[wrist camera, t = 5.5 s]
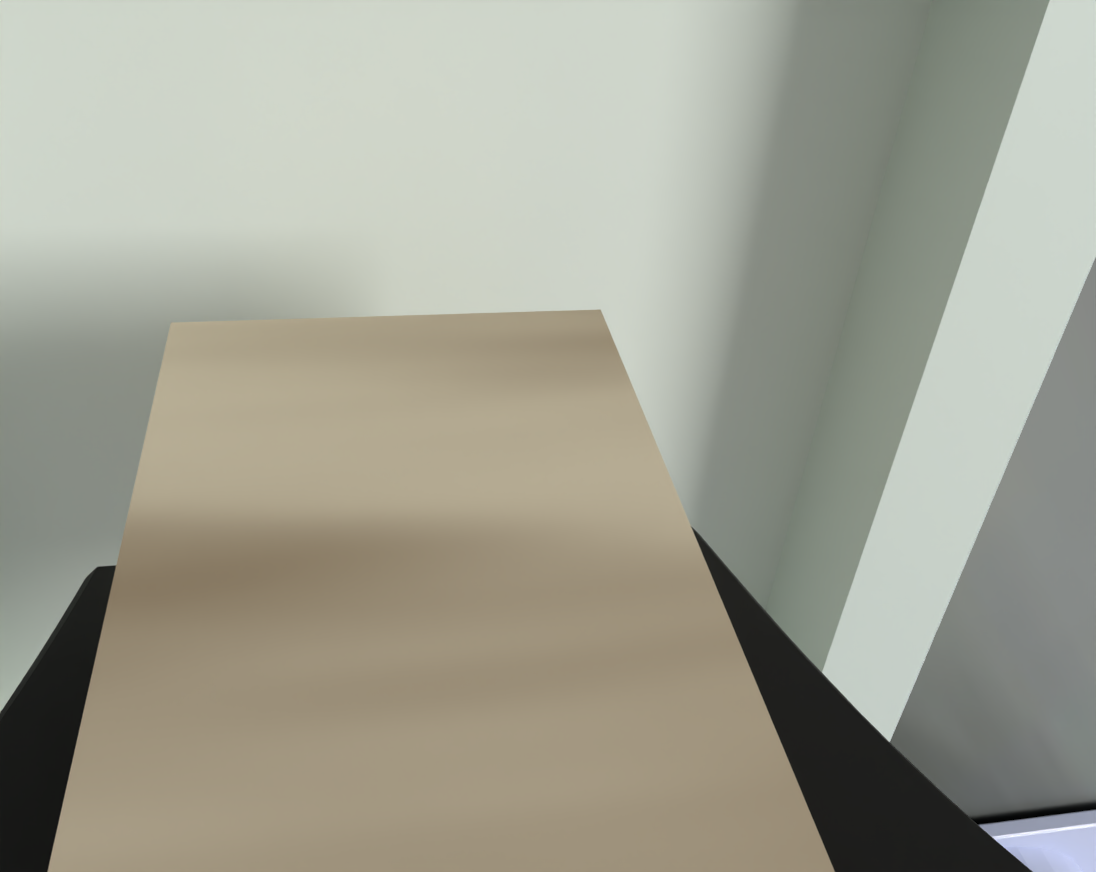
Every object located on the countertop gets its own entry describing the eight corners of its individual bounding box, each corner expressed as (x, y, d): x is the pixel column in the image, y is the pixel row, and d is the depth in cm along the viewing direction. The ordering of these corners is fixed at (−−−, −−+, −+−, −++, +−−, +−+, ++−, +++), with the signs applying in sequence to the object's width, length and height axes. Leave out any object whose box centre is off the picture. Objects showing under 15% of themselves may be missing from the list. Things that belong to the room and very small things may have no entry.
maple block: (568, 597, 12) (718, 1174, 8) (225, 625, 12) (159, 1278, 7) (601, 308, 10) (842, 894, 5) (172, 322, 9) (16, 1007, 5)
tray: (811, 681, 19) (866, 798, 17) (-76, 768, 17) (-129, 918, 15) (1147, -335, 10) (1342, -327, 8) (-698, -497, 7) (-1060, -548, 6)
